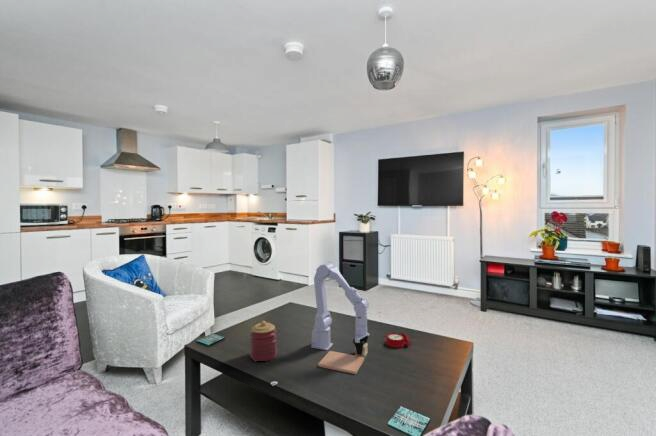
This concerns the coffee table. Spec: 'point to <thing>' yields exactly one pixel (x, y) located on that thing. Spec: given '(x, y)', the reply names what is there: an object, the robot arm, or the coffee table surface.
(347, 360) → the terracotta tile
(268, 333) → the canister
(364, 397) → the coffee table surface
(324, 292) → the robot arm
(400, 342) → the alarm clock
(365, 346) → the maple cube
